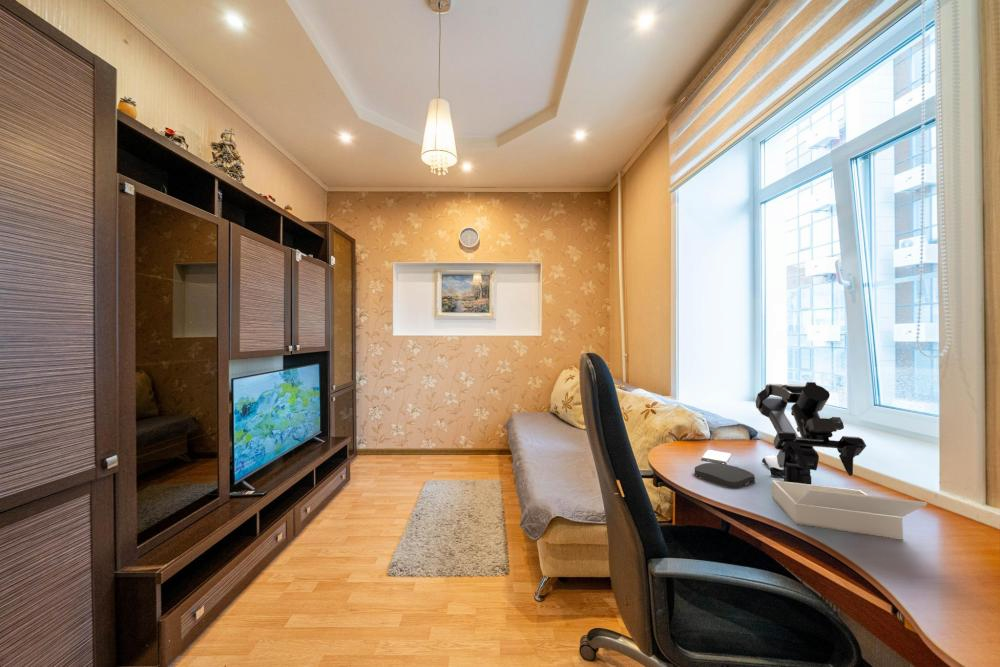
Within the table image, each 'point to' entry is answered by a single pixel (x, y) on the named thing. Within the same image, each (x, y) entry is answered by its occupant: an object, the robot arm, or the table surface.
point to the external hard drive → (716, 456)
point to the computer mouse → (773, 465)
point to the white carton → (833, 512)
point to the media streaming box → (725, 474)
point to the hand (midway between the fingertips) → (828, 473)
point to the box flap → (860, 502)
